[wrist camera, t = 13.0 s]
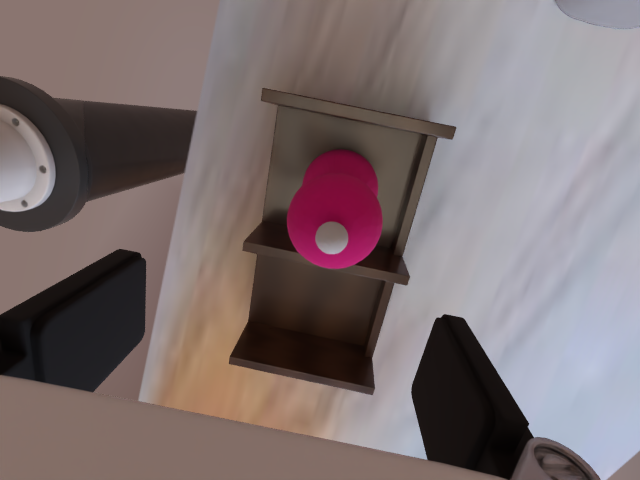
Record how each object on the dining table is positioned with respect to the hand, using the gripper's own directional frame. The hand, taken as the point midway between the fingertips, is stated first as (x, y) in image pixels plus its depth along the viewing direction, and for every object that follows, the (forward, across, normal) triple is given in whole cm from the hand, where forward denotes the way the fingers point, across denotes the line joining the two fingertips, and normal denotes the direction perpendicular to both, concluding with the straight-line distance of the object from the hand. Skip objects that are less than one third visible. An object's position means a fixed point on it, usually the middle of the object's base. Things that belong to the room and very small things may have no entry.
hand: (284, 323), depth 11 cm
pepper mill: (+27, -2, 0) cm, 27 cm away
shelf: (+30, -2, +6) cm, 31 cm away
